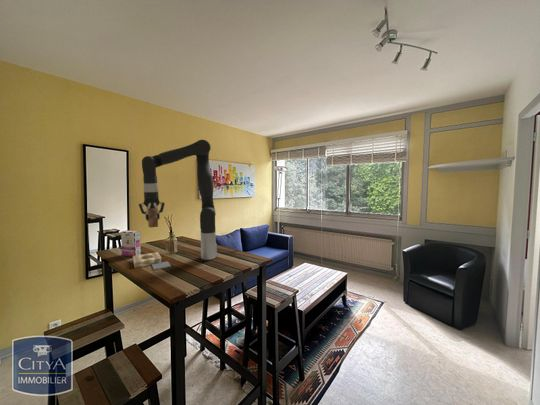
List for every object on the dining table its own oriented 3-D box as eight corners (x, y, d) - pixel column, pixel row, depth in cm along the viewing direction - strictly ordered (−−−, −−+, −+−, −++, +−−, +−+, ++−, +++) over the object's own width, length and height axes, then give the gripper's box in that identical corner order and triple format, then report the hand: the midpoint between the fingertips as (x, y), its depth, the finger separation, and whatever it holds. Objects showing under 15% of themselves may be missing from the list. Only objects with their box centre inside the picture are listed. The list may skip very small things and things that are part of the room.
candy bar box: (141, 255, 149) (140, 231, 147) (135, 257, 144) (134, 232, 142) (127, 253, 151) (126, 229, 150) (121, 255, 147) (120, 231, 145)
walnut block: (156, 225, 135) (155, 207, 134) (157, 226, 131) (156, 208, 130) (148, 226, 132) (147, 207, 131) (149, 227, 129) (148, 208, 128)
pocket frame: (157, 256, 146) (157, 252, 146) (161, 263, 135) (161, 258, 135) (132, 260, 138) (132, 255, 138) (134, 267, 127) (134, 262, 127)
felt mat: (168, 262, 137) (168, 261, 137) (171, 266, 129) (171, 265, 129) (151, 265, 131) (151, 264, 131) (153, 270, 124) (153, 269, 124)
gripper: (163, 190, 137) (164, 218, 139) (136, 191, 129) (138, 220, 131) (165, 191, 131) (167, 219, 132) (137, 192, 123) (139, 222, 124)
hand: (152, 220), depth 131 cm, fingers closed on walnut block, 4 cm apart
